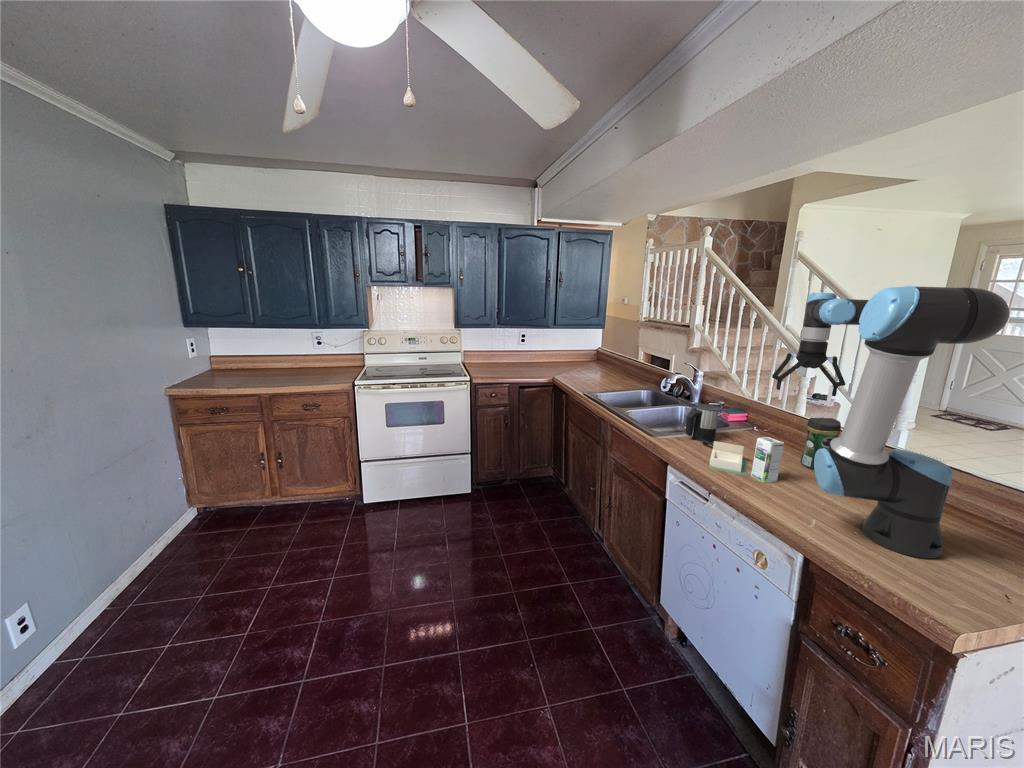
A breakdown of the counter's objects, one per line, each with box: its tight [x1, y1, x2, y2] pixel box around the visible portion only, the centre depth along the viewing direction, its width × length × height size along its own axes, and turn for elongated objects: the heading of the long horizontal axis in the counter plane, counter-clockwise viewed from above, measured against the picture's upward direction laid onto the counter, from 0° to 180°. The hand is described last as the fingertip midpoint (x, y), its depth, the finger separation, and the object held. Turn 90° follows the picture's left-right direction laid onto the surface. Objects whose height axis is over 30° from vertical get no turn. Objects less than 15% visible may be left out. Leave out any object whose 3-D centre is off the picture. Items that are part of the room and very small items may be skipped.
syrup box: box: [750, 436, 785, 484], centre depth 138 cm, size 6×6×14 cm
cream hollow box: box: [708, 440, 745, 472], centre depth 150 cm, size 11×10×6 cm
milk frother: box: [685, 403, 721, 447], centre depth 171 cm, size 14×16×15 cm
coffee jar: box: [800, 417, 842, 470], centre depth 149 cm, size 10×8×19 cm
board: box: [708, 458, 749, 477], centre depth 150 cm, size 16×12×1 cm
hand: (803, 402), depth 141 cm, fingers open, 13 cm apart
